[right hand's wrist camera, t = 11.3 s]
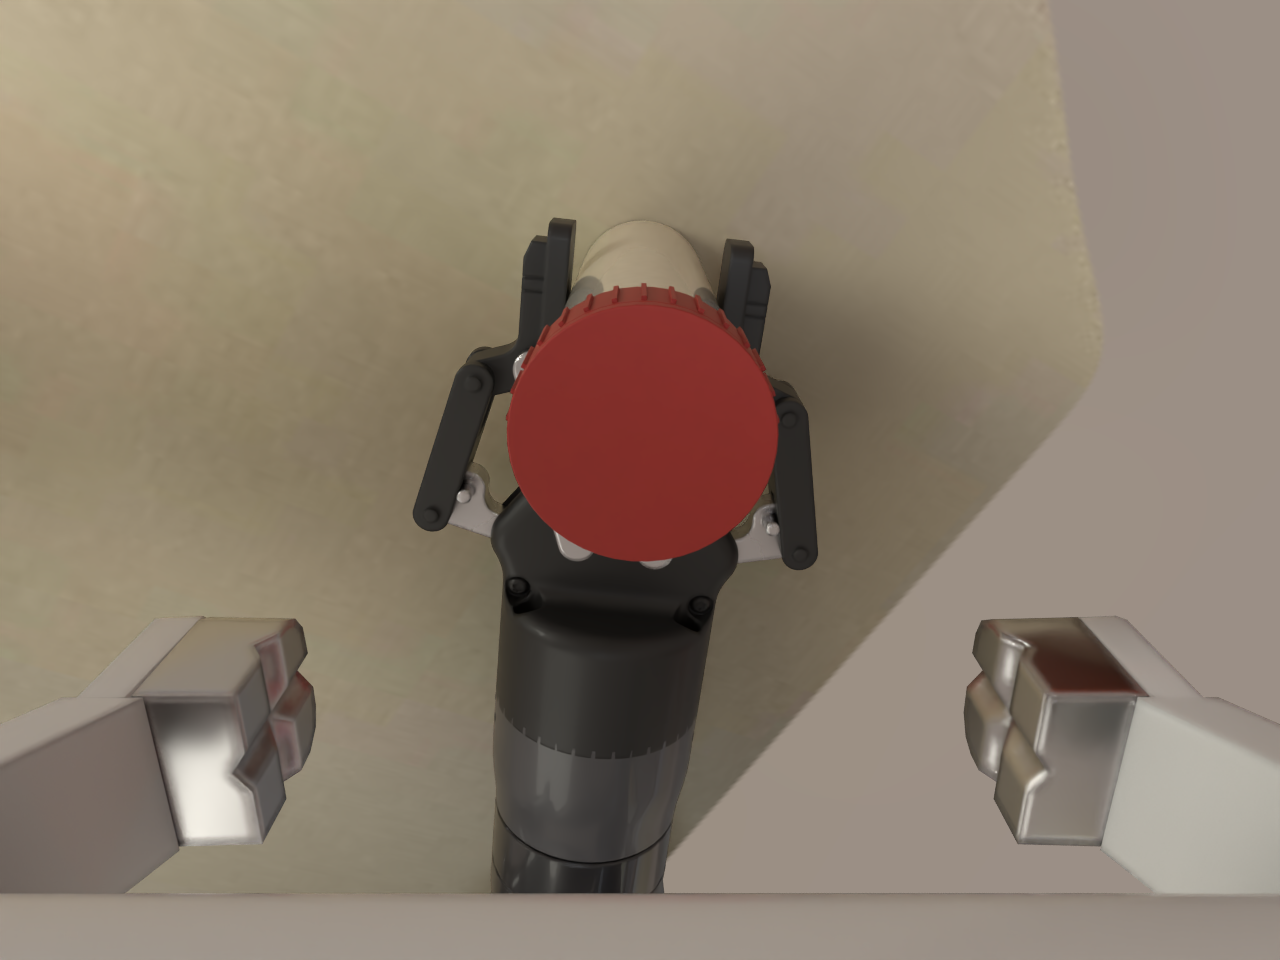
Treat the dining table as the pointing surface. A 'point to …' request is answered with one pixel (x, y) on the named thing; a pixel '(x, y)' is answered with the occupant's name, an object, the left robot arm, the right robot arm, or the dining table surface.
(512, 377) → the left robot arm
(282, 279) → the dining table surface
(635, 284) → the white bottle
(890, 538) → the dining table surface
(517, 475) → the lid
